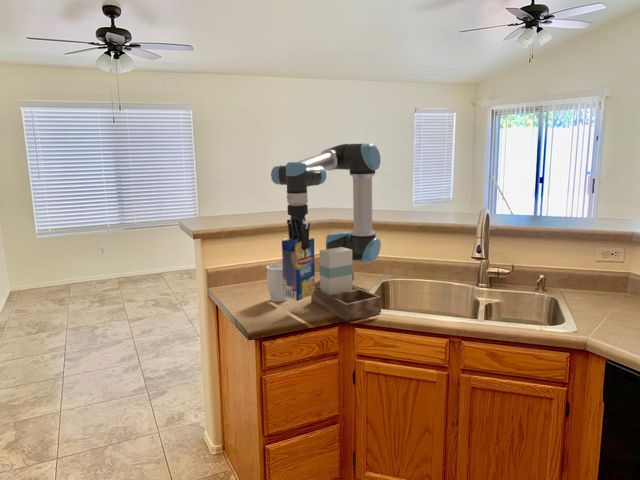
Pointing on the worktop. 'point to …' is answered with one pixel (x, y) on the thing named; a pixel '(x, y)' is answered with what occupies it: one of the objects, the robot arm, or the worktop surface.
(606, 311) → the worktop surface
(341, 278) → the banded carton
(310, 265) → the blue food box
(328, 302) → the bin
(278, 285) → the jar
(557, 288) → the worktop surface
